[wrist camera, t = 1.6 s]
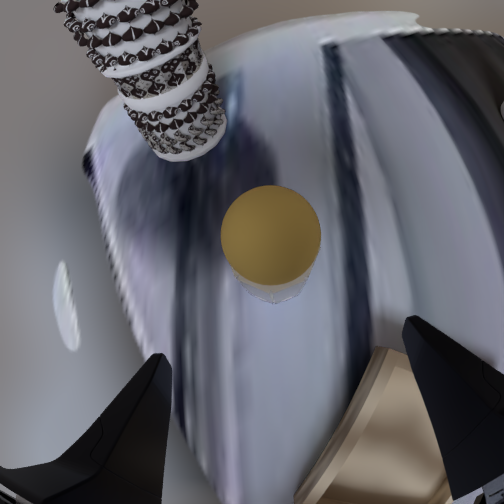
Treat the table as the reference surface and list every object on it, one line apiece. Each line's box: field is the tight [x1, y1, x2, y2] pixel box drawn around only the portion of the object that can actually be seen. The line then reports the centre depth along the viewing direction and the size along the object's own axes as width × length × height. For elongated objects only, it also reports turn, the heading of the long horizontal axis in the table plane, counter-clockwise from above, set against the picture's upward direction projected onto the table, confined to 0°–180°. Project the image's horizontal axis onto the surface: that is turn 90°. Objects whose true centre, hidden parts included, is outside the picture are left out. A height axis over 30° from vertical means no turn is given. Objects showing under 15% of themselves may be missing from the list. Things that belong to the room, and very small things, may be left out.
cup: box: [231, 247, 320, 304], centre depth 19 cm, size 5×5×7 cm
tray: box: [294, 346, 453, 504], centre depth 16 cm, size 15×15×3 cm
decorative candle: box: [54, 0, 227, 162], centre depth 16 cm, size 9×9×25 cm
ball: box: [221, 185, 321, 286], centre depth 14 cm, size 5×5×5 cm
